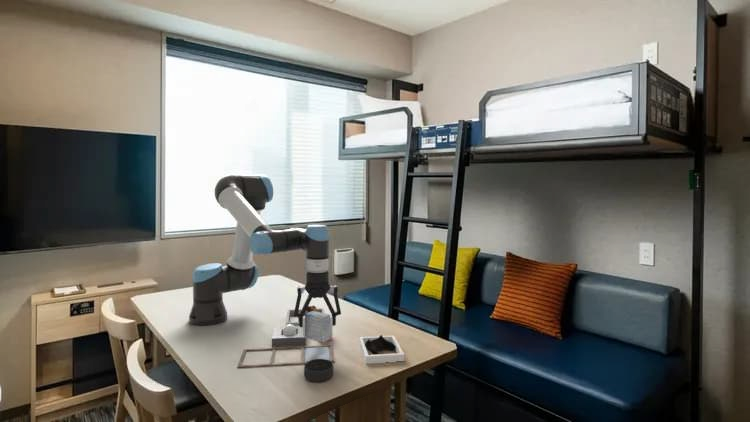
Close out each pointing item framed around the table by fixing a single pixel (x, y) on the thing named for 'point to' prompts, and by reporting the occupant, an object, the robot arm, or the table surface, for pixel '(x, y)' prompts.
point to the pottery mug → (310, 309)
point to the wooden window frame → (311, 351)
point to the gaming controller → (378, 345)
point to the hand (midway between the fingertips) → (317, 335)
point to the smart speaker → (318, 370)
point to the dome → (289, 330)
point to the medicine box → (317, 326)
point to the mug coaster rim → (291, 312)
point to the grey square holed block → (288, 337)
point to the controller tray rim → (381, 357)
